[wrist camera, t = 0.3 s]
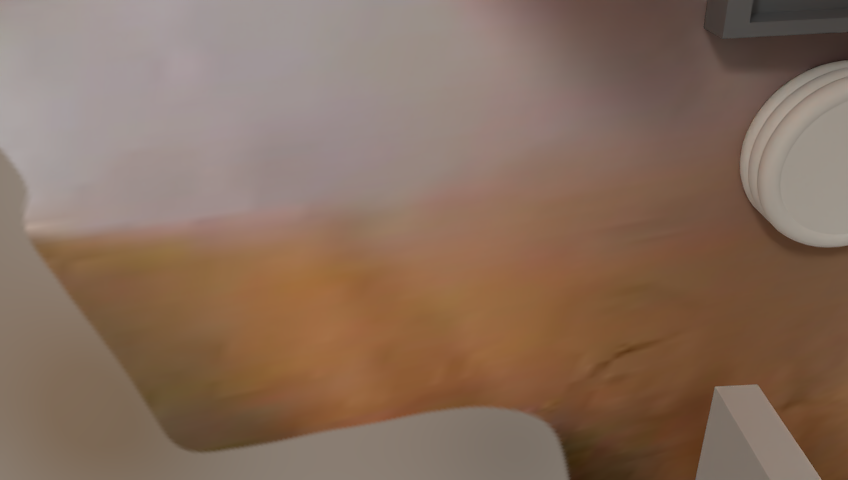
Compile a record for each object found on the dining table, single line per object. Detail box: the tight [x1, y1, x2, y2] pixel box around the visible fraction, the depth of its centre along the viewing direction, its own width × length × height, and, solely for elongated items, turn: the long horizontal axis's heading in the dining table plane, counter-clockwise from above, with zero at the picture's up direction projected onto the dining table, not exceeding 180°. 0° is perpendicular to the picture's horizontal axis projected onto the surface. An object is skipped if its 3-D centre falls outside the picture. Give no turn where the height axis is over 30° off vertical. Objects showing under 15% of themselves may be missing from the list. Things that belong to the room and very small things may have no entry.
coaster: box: [740, 60, 848, 247], centre depth 39 cm, size 10×10×4 cm
